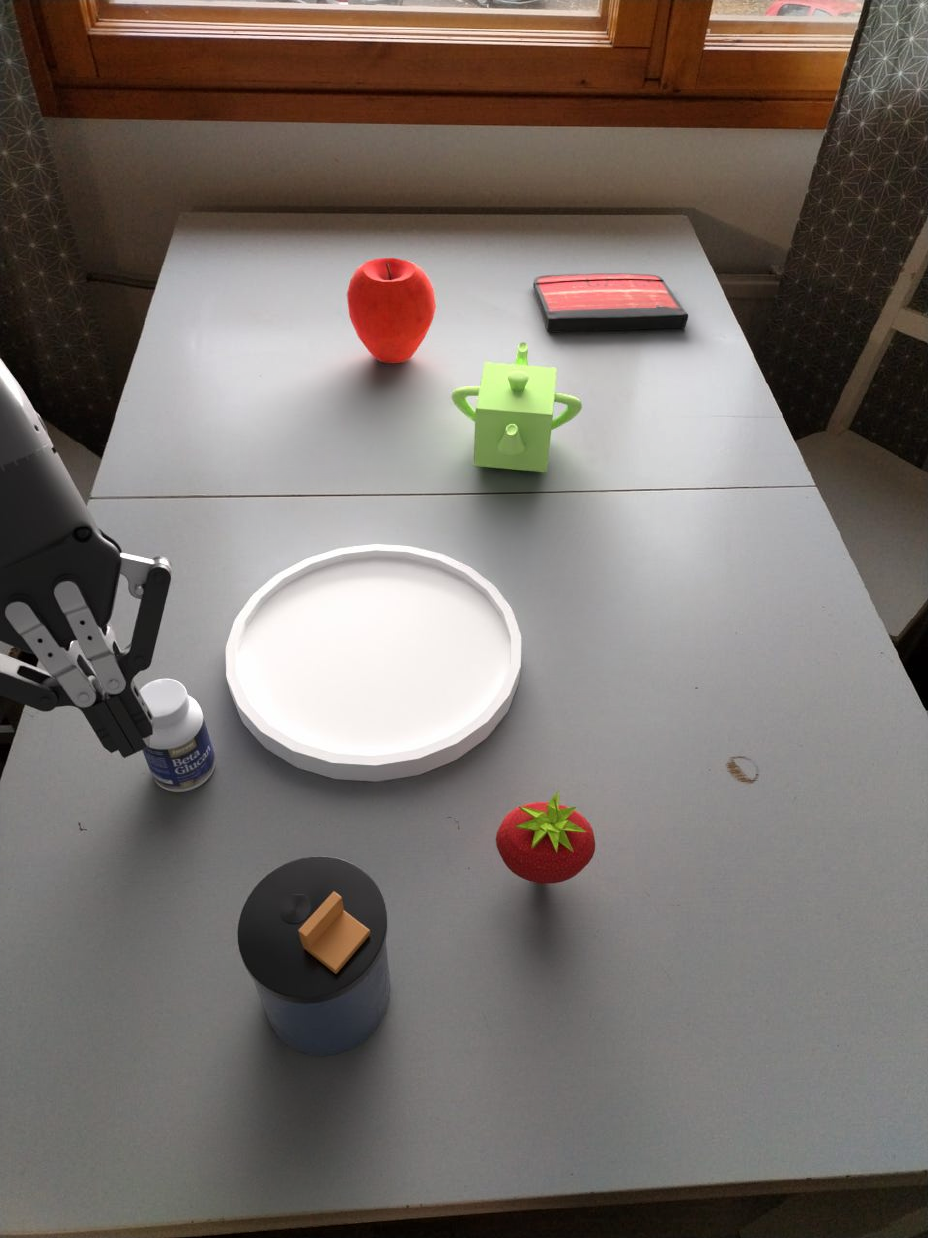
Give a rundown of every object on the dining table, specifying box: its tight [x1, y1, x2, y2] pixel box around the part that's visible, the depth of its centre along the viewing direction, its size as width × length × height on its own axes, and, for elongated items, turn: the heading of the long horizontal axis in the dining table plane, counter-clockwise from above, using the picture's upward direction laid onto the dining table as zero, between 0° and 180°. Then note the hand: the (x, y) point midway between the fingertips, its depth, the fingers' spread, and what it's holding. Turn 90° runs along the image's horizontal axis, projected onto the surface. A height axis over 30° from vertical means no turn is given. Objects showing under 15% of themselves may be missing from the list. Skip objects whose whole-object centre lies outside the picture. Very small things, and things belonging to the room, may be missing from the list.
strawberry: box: [495, 789, 596, 885], centre depth 67 cm, size 6×8×10 cm
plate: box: [225, 543, 522, 783], centre depth 85 cm, size 28×28×2 cm
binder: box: [532, 272, 689, 333], centre depth 136 cm, size 16×2×21 cm
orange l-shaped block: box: [298, 892, 370, 974], centre depth 55 cm, size 3×3×2 cm
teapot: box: [451, 341, 583, 473], centre depth 107 cm, size 15×13×11 cm
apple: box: [346, 257, 437, 364], centre depth 121 cm, size 12×12×13 cm
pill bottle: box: [139, 678, 217, 793], centre depth 74 cm, size 5×5×10 cm
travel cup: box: [236, 855, 391, 1057], centre depth 60 cm, size 9×9×11 cm
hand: (138, 746), depth 51 cm, fingers closed
